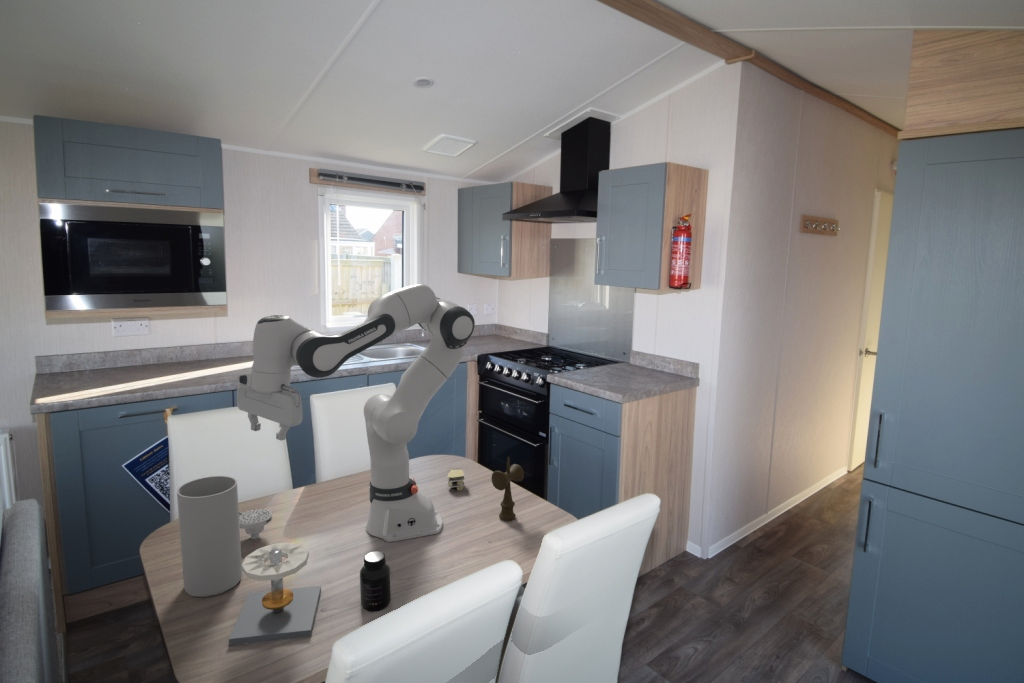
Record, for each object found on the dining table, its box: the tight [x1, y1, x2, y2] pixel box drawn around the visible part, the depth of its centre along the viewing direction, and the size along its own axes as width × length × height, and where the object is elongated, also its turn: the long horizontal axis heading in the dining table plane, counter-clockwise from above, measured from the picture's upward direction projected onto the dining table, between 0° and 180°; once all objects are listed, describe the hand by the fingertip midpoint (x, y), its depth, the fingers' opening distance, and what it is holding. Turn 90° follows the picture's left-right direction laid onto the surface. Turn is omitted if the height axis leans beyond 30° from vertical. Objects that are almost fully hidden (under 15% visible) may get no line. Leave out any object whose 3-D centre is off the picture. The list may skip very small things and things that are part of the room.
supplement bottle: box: [359, 550, 392, 613], centre depth 127 cm, size 7×7×12 cm
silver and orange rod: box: [262, 549, 293, 614], centre depth 121 cm, size 6×6×14 cm
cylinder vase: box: [176, 475, 243, 598], centre depth 132 cm, size 12×12×25 cm
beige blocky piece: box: [446, 469, 465, 491], centre depth 192 cm, size 10×9×6 cm
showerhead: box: [239, 508, 273, 540], centre depth 156 cm, size 9×7×10 cm
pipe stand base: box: [228, 585, 322, 646], centre depth 122 cm, size 16×16×2 cm
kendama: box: [491, 456, 525, 521], centre depth 169 cm, size 6×10×20 cm, turn 140°
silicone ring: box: [242, 542, 310, 582], centre depth 120 cm, size 13×13×1 cm
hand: (268, 434), depth 137 cm, fingers open, 8 cm apart
